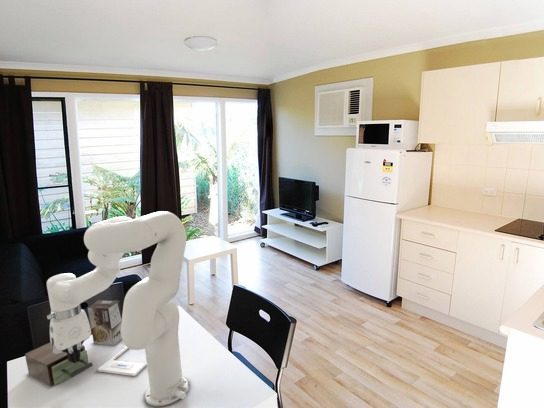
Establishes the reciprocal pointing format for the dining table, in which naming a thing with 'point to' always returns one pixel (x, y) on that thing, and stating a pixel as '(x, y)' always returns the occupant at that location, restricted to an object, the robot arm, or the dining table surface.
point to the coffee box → (105, 322)
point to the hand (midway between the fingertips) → (74, 360)
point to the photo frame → (122, 366)
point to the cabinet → (44, 362)
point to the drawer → (69, 368)
